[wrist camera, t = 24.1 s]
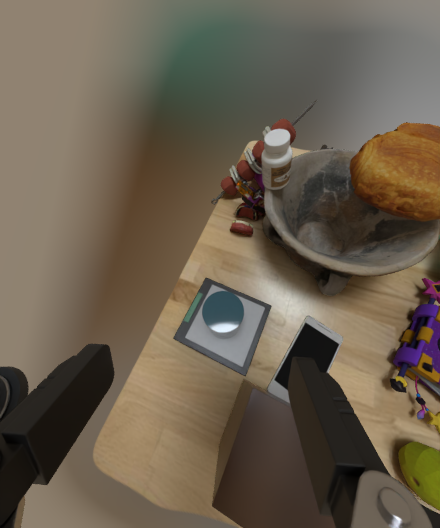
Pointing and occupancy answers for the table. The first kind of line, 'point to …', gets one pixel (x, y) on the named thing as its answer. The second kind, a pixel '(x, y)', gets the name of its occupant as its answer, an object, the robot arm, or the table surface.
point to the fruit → (422, 471)
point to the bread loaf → (401, 172)
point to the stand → (264, 466)
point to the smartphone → (306, 353)
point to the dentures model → (241, 227)
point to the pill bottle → (276, 159)
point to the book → (422, 351)
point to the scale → (224, 350)
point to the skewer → (256, 157)
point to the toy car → (251, 196)
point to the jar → (223, 314)
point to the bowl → (340, 224)
